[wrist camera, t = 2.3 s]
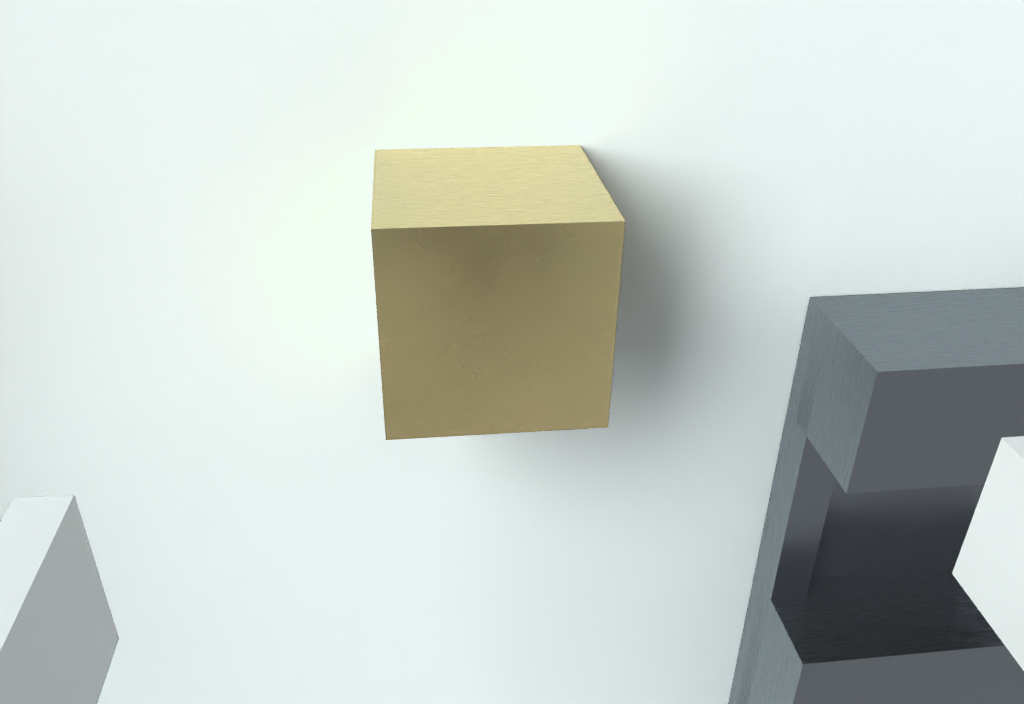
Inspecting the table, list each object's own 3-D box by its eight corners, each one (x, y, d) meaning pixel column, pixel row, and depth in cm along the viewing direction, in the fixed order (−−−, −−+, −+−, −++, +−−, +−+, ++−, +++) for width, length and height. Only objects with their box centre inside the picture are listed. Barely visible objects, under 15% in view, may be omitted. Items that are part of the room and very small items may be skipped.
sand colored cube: (569, 322, 25) (608, 427, 20) (386, 330, 24) (385, 440, 20) (579, 144, 22) (625, 221, 18) (374, 148, 21) (370, 229, 17)
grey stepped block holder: (900, 845, 40) (948, 940, 37) (695, 869, 39) (724, 969, 36) (1122, 282, 26) (1234, 352, 22) (810, 297, 25) (877, 371, 21)
